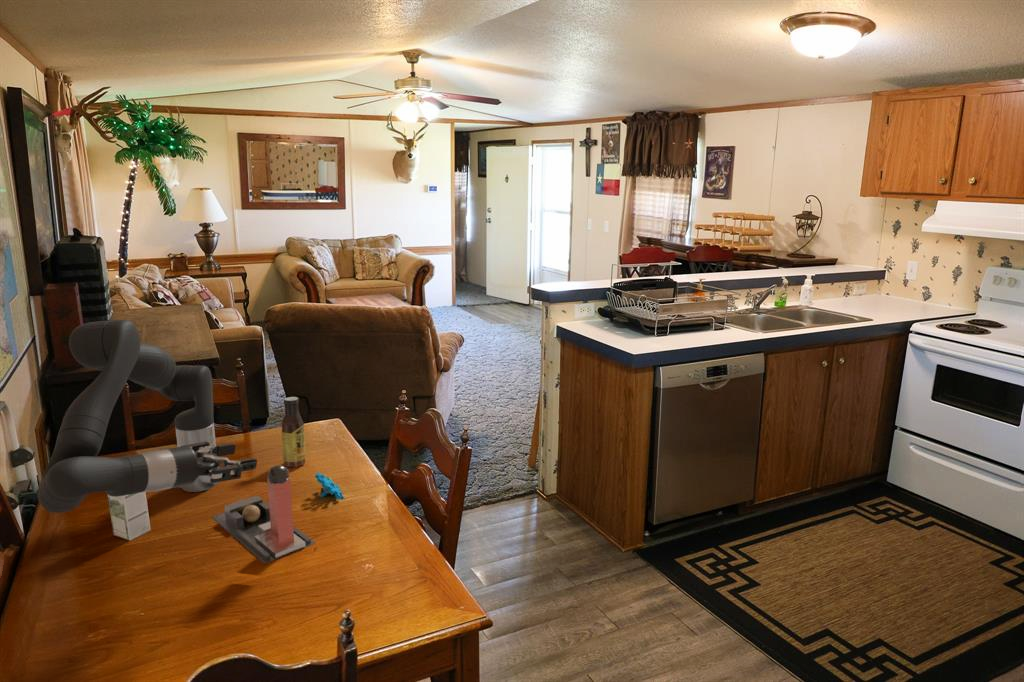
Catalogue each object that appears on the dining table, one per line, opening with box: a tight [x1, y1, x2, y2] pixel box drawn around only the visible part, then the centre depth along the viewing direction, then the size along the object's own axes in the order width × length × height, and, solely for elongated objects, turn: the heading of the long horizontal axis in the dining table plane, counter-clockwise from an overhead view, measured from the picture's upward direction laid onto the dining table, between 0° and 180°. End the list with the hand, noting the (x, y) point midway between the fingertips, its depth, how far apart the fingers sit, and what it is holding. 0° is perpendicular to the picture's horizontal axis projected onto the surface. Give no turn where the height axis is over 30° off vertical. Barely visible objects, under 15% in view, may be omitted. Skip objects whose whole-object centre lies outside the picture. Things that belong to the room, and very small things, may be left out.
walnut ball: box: [242, 505, 260, 522], centre depth 159 cm, size 4×4×4 cm
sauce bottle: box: [281, 396, 306, 468], centre depth 193 cm, size 7×6×20 cm
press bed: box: [211, 495, 317, 564], centre depth 156 cm, size 28×12×5 cm, turn 45°
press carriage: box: [255, 464, 306, 558], centre depth 148 cm, size 10×7×19 cm
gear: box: [314, 472, 346, 500], centre depth 174 cm, size 11×6×10 cm
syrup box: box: [107, 492, 151, 541], centre depth 155 cm, size 6×6×14 cm
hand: (244, 455), depth 140 cm, fingers open, 8 cm apart
